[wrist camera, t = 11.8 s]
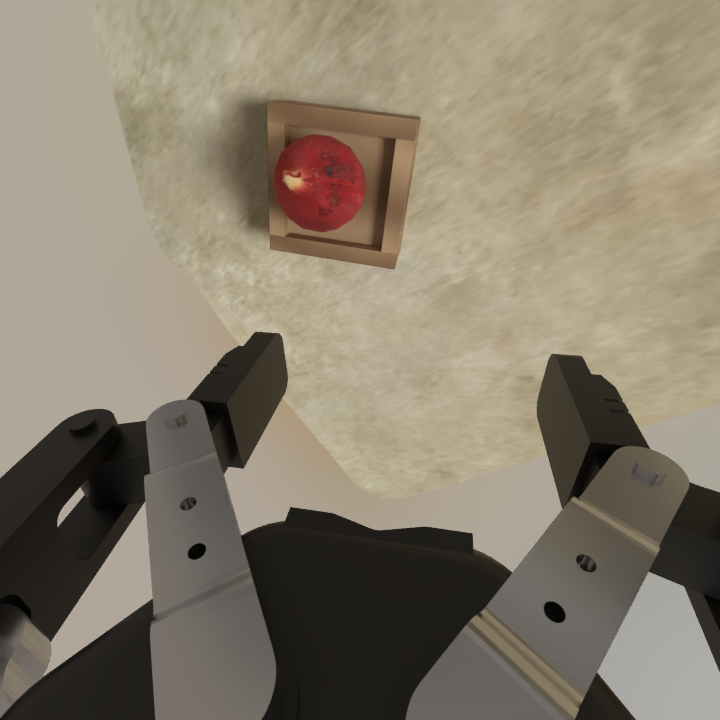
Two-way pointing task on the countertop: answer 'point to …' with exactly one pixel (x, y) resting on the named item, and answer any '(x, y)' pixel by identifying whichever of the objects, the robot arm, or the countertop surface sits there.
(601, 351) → the countertop surface
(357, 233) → the wooden box
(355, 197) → the onion
